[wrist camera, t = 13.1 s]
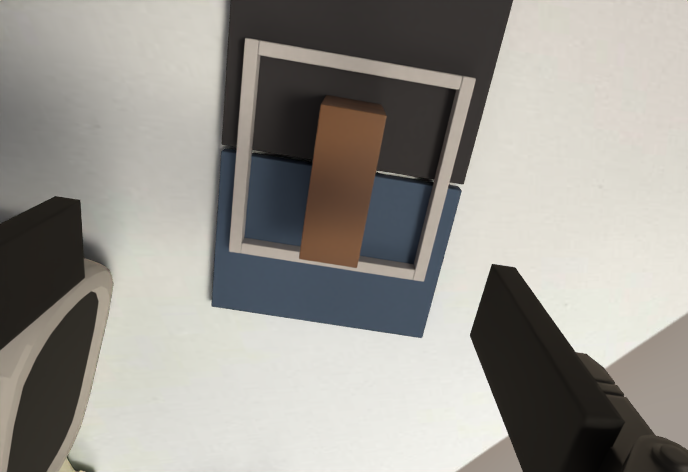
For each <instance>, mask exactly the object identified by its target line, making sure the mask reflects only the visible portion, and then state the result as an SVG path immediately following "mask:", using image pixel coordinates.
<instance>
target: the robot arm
mask: <svg viewBox="0 0 688 472" xmlns="http://www.w3.org/2000/svg"><path fill="white" fill-rule="evenodd" d="M84 278H85V269H84V253H83V237H82V221H81V205H80V200H77V199H70V198H64V197H57V196H55V197H53V198H51V199H49V200H47V201H45V202H43V203H41V204H39V205H37V206H35V207H33V208H31V209H29V210H27V211H25V212H23V213H21V214H19V215H17V216H15V217H13V218H11V219H9V220H7V221H5V222H3V223H1V224H0V350H1V349H3V348H4V347H5V346H6V345H7V344H8V343H10V342H11V341H12V340H13V339H14V338H15V337H17V336H18V335H19V334H20V333H21V332H22V331H24V330H25V329H26V328H27V327H28V326H29V325H31V324H32V323H33V322H34V321H35V320H36V319H38V318H39V317H40V316H41V315H42V314H43V313H45V312H46V311H47V310H48V309H49V308H50V307H52V306H53V305H54V304H55V303H56V302H57V301H59V300H60V299H61V298H62V297H63V296H64V295H66V294H67V293H68V292H69V291H70V290H71V289H73V288H74V287H75V286H76V285H77V284H78V283H80V282H81V281H82V280H83V279H84ZM470 337H471V340H472V342H473V345H474V347H475V350H476V352H477V355H478V358H479V360H480V363H481V365H482V368H483V370H484V373H485V375H486V378H487V381H488V383H489V386H490V388H491V391H492V393H493V396H494V399H495V401H496V404H497V406H498V409H499V411H500V414H501V417H502V419H503V422H504V424H505V427H506V429H507V432H508V435H509V437H510V439H511V442H512V444H513V447H514V450H515V453H516V455H517V458H518V460H519V462H520V465H521V468H522V470H523V472H688V450H687V449H685V448H683V447H682V446H681V445H679V444H677V443H675V442H673V441H670V440H668V439H666V438H663V437H659V436H656V435H655V434H654V433H653V432H652V430H651V429H650V428H649V426H648V425H647V424H646V422H645V421H644V420H643V419H642V417H641V416H640V415H639V413H638V412H637V411H636V409H635V408H634V407H633V405H632V404H631V403H630V401H629V400H628V399H627V398H626V397H624V394H623V392H622V391H621V390H620V389H619V387H618V386H617V385H615V382H614V380H613V379H612V378H611V377H610V376H609V374H608V373H607V371H606V370H605V369H604V368H603V367H602V366H601V365H600V364H598V363H597V362H596V361H595V360H593V359H592V358H591V357H590V356H588V355H587V354H584V353H577V352H575V351H574V349H573V348H572V347H571V345H570V344H569V342H568V341H567V340H566V338H565V337H564V335H563V334H562V333H561V331H560V330H559V328H558V327H557V325H556V324H555V323H554V321H553V320H552V318H551V317H550V316H549V314H548V313H547V311H546V310H545V309H544V307H543V306H542V304H541V303H540V302H539V300H538V299H537V297H536V296H535V295H534V293H533V292H532V290H531V289H530V288H529V286H528V285H527V283H526V282H525V281H524V279H523V278H522V276H521V275H520V274H519V272H518V271H517V269H516V268H515V267H509V266H502V265H496V264H492V266H491V269H490V272H489V275H488V278H487V282H486V285H485V288H484V291H483V295H482V298H481V301H480V304H479V307H478V311H477V314H476V317H475V320H474V324H473V327H472V330H471V333H470Z"/></svg>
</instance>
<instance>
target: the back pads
mask: <svg viewBox="0 0 688 472" xmlns="http://www.w3.org/2000/svg"><path fill="white" fill-rule="evenodd" d="M512 2H513V0H231V5H230V21H229V37H228V52H227V68H226V84H225V100H224V115H223V131H222V144H223V145H228V146H234V147H237V150H234V149H228V148H225V149H224V150H222V151H221V164H220V180H219V195H218V211H217V227H216V242H215V258H214V274H213V290H212V307H219V308H226V309H232V310H239V311H246V312H252V313H259V314H266V315H272V316H279V317H285V318H292V319H299V320H305V321H312V322H319V323H325V324H332V325H339V326H345V327H352V328H358V329H365V330H372V331H378V332H385V333H392V334H398V335H405V336H412V337H418V338H422V336H423V333H424V329H425V325H426V321H427V318H428V314H429V310H430V307H431V303H432V299H433V295H434V292H435V288H436V284H437V281H438V277H439V273H440V269H441V266H442V262H443V258H444V255H445V251H446V247H447V243H448V240H449V236H450V232H451V229H452V225H453V221H454V217H455V214H456V210H457V206H458V203H459V199H460V195H461V189H460V188H459V187H458V186H452V185H449V182H452V183H458V184H464V181H465V177H466V173H467V170H468V166H469V162H470V158H471V155H472V151H473V147H474V144H475V140H476V136H477V132H478V129H479V125H480V121H481V118H482V114H483V110H484V106H485V103H486V99H487V95H488V92H489V88H490V84H491V80H492V77H493V73H494V69H495V66H496V62H497V58H498V54H499V51H500V47H501V43H502V40H503V36H504V32H505V28H506V25H507V21H508V17H509V14H510V10H511V6H512ZM326 95H330V96H336V97H341V98H347V99H353V100H359V101H364V102H370V103H376V104H381V105H382V107H383V109H384V111H385V113H386V116H387V118H386V123H385V128H384V133H383V138H382V143H381V148H380V153H379V159H378V164H377V169H376V170H379V171H385V172H391V173H397V174H403V175H409V176H415V177H421V178H427V179H433V180H434V182H428V181H421V180H415V179H409V178H403V177H397V176H391V175H385V174H379V173H376V174H375V179H374V184H373V189H372V194H371V200H370V205H369V210H368V215H367V220H366V225H365V230H364V235H363V240H362V246H361V251H360V256H359V261H358V266H357V268H352V267H346V266H340V265H333V264H327V263H321V262H314V261H308V260H302V259H299V253H300V246H301V239H302V232H303V225H304V218H305V211H306V204H307V197H308V190H309V183H310V176H311V169H312V162H306V161H300V160H294V159H288V158H282V157H276V156H270V155H264V154H258V153H252V150H258V151H264V152H270V153H276V154H282V155H288V156H294V157H300V158H307V159H313V154H314V147H315V140H316V133H317V126H318V119H319V112H320V105H321V103H322V102H323V100H324V98H325V96H326Z"/></svg>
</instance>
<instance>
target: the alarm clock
mask: <svg viewBox="0 0 688 472" xmlns="http://www.w3.org/2000/svg"><path fill="white" fill-rule="evenodd" d="M84 269H85V278H84V279H83V280H82V281H81V282H80V283H78V284H77V285H76V286H75V287H74V288H73V289H71V290H70V291H69V292H68V293H67V294H66V295H64V296H63V297H62V298H61V299H60V300H59V301H57V302H56V303H55V304H54V305H53V306H52V307H50V308H49V309H48V310H47V311H46V312H45V313H43V314H42V315H41V316H40V317H39V318H38V319H36V320H35V321H34V322H33V323H32V324H31V325H29V326H28V327H27V328H26V329H25V330H24V331H22V332H21V333H20V334H19V335H18V336H17V337H15V338H14V339H13V340H12V341H11V342H10V343H8V344H7V345H6V346H5V347H4V348H3V349H1V350H0V472H59V470H60V468H61V466H62V465H63V463H64V461H65V459H66V457H67V455H68V453H69V451H70V450H71V448H72V446H73V443H74V441H75V439H76V436H77V434H78V432H79V429H80V427H81V424H82V421H83V417H84V414H85V410H86V407H87V403H88V400H89V396H90V393H91V388H92V384H93V379H94V375H95V371H96V366H97V362H98V358H99V353H100V349H101V344H102V340H103V336H104V331H105V327H106V323H107V318H108V314H109V308H110V302H111V296H112V290H113V284H114V283H113V279H112V275H111V272H110V270H109V269H108V268H107V267H105V266H104V265H102V264H100V263H97V262H94V261H91V260H88V259H86V258H84Z"/></svg>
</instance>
